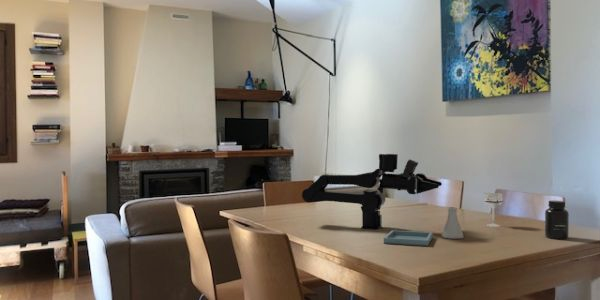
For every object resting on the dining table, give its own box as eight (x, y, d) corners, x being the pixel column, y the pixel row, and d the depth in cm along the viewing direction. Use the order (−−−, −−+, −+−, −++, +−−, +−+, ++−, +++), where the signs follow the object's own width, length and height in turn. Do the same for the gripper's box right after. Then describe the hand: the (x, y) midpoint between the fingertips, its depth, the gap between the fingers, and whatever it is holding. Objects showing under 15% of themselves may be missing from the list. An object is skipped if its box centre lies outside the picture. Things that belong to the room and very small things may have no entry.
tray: (383, 243, 149) (383, 237, 149) (391, 235, 162) (391, 230, 162) (427, 246, 144) (427, 240, 144) (432, 237, 157) (432, 232, 157)
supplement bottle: (560, 240, 149) (559, 203, 149) (540, 237, 155) (540, 200, 155) (573, 238, 152) (573, 201, 152) (553, 234, 158) (553, 199, 158)
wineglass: (499, 224, 181) (499, 192, 180) (505, 227, 174) (505, 194, 174) (481, 224, 181) (481, 193, 181) (486, 227, 174) (486, 195, 174)
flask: (465, 239, 153) (465, 209, 153) (442, 239, 154) (442, 208, 154) (462, 235, 160) (462, 206, 160) (440, 234, 162) (440, 206, 161)
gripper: (392, 161, 165) (437, 163, 159) (402, 159, 182) (444, 161, 176) (390, 192, 165) (436, 196, 159) (401, 187, 182) (442, 191, 176)
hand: (440, 185), depth 167 cm, fingers open, 9 cm apart
